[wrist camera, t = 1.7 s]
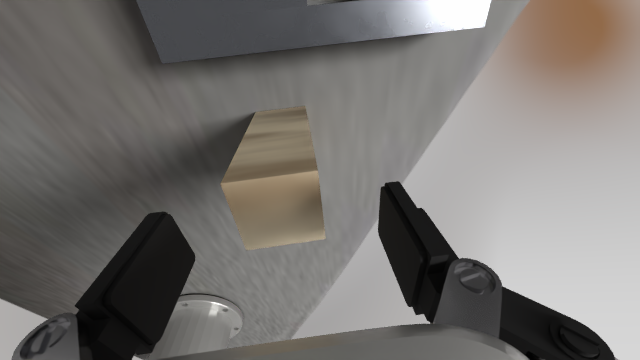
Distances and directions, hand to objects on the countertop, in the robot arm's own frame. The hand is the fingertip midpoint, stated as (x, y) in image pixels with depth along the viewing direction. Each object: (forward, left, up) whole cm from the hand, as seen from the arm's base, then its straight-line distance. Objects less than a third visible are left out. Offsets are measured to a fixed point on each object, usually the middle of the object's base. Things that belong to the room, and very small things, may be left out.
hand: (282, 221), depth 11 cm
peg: (-1, 0, -13) cm, 13 cm away
